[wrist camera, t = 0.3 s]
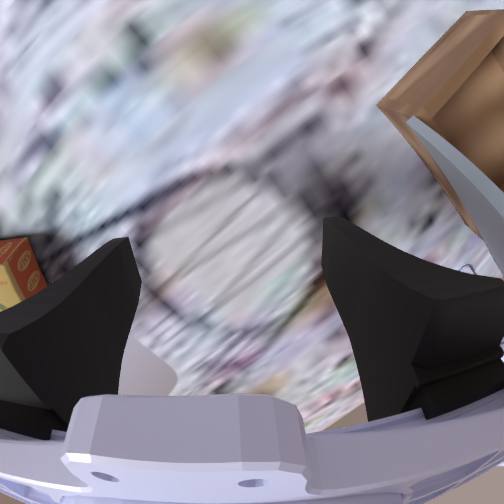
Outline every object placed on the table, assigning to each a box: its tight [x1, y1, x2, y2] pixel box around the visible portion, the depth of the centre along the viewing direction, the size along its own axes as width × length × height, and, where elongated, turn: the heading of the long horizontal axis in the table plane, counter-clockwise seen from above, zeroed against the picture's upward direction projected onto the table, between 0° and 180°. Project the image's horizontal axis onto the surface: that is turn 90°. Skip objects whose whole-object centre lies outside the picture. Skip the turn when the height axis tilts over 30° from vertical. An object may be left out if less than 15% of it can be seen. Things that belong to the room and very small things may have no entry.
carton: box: [0, 237, 48, 312], centre depth 23 cm, size 8×16×4 cm, turn 2°
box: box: [377, 10, 504, 242], centre depth 17 cm, size 14×12×5 cm
